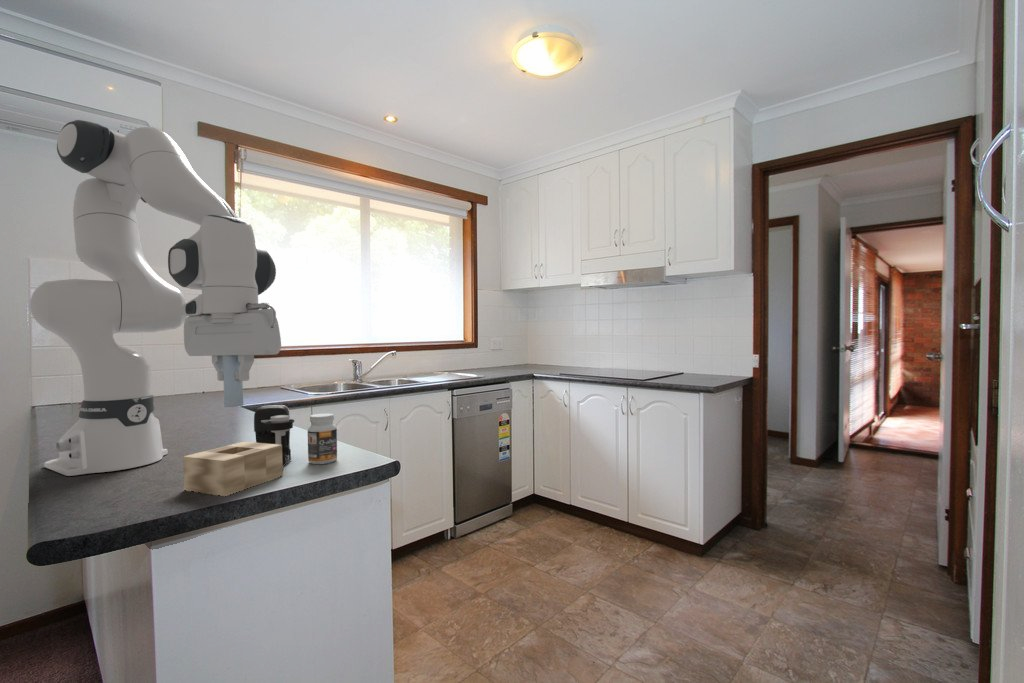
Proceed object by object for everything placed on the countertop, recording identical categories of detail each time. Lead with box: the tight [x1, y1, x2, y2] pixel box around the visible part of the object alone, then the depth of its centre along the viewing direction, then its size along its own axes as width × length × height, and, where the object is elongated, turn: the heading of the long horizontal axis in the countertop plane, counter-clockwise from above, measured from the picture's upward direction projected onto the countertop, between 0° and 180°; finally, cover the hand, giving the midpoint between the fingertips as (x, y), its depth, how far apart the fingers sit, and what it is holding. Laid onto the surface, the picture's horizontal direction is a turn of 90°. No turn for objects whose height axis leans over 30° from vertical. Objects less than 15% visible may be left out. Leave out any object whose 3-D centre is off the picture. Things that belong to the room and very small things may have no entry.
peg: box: [222, 355, 244, 408], centre depth 87 cm, size 3×3×10 cm
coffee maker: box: [253, 404, 291, 449], centre depth 105 cm, size 7×4×11 cm, turn 107°
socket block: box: [182, 441, 284, 497], centre depth 88 cm, size 10×12×6 cm
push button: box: [266, 415, 295, 466], centre depth 100 cm, size 7×5×10 cm
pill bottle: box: [307, 412, 338, 465], centre depth 102 cm, size 6×6×10 cm
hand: (233, 380), depth 87 cm, fingers closed on peg, 3 cm apart
